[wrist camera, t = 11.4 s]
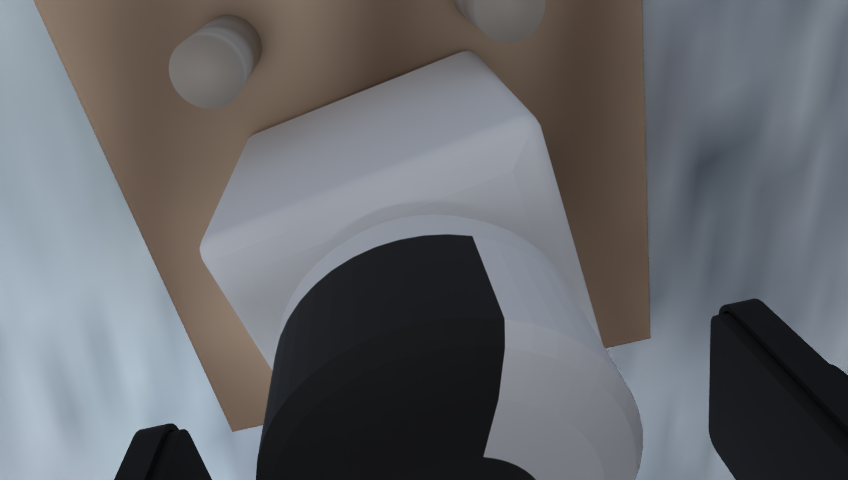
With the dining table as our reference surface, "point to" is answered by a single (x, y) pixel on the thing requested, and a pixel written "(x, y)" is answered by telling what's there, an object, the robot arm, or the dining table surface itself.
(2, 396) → the dining table surface
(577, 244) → the wooden peg board
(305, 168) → the white capped block
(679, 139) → the dining table surface
